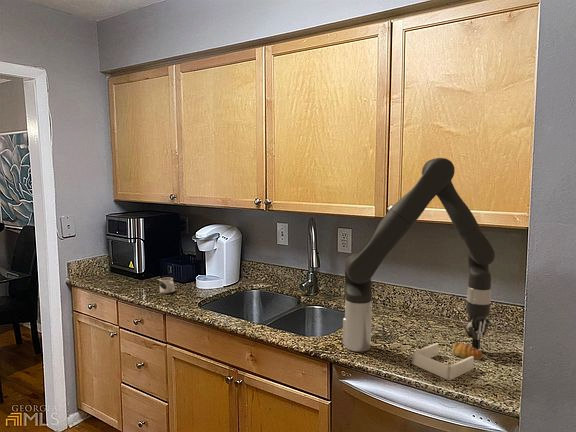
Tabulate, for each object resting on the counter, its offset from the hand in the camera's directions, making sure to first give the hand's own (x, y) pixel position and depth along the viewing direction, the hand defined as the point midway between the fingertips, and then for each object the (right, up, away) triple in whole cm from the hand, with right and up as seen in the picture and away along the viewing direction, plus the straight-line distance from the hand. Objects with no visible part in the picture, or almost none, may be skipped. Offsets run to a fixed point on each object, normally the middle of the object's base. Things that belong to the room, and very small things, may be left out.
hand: (475, 348), depth 150 cm
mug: (-127, +7, +70) cm, 145 cm away
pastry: (-5, -2, -3) cm, 6 cm away
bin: (-15, -2, -11) cm, 19 cm away
